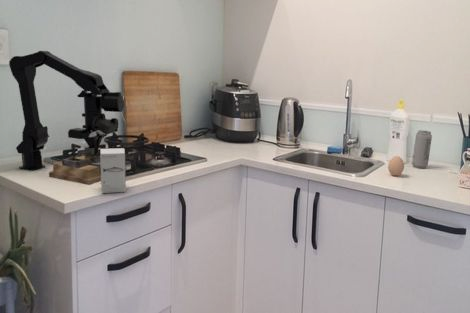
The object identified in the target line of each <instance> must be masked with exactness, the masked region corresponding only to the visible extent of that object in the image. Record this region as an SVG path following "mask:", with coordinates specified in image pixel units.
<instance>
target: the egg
mask: <svg viewBox="0 0 470 313" xmlns="http://www.w3.org/2000/svg"><path fill="white" fill-rule="evenodd" d="M387 169H388V172H389V174H391V175H392V176H395V177H397V176H400V175H401V174H402V173H403V172H404V170H405V163H404V160H403V158H402V157H401V156H399V155H395V156H393V157H391V159H390V160H389V161H388V165H387Z"/></svg>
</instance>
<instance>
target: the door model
mask: <svg viewBox="0 0 470 313" xmlns="http://www.w3.org/2000/svg"><path fill="white" fill-rule="evenodd" d="M84 155H85V153H82V154H79V157H81V156H84ZM77 157H78V156H77ZM77 157H76V156H71V157H66V158H63V159H61V161H57V162H55V163H54V162H53V163H52V171H49V172H48V178H49V177H50V178H54V179H55V178H56V179H60V180H65V181H70V182H74V183H79V184H85V185H93V184H95V183H98V182H101V164H100V155H98V153H97V154H96V155H95V157H93V162H92V163H89V159H84V160H80V161H74V158H77Z"/></svg>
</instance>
